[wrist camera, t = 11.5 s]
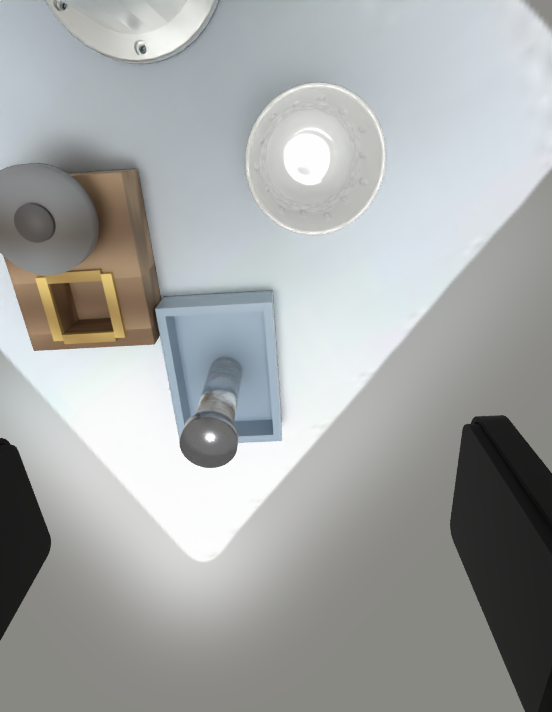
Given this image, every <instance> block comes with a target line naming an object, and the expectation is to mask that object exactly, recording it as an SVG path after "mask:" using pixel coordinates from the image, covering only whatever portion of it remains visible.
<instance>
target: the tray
mask: <svg viewBox="0 0 552 712" xmlns="http://www.w3.org/2000/svg"><path fill="white" fill-rule="evenodd" d="M155 311H156V317H157V322H158V327H159V333H160V338H161V343H162V349H163V354H164V359H165V365H166V370H167V375H168V381H169V386H170V391H171V397H172V402H173V408H174V413H175V418H176V424H177V429H178V434H179V440H180V437H181V434H182V431H183V428H184V425H185V423H186V421H187V420H188V419H189V418H190V417H191V416H193V415H194V414H195V413H196V410H197V407H198V404H199V401H200V398H201V395H202V391H203V388H204V385H205V382H206V379H207V376H208V372H209V369H210V366H211V364H212V363H213V362H214V361H215V360H216V359H218V358H220V357H230V358H233V359H235V360H236V361H237V362H238V363H239V364H240V365H241V367H242V379H241V385H240V391H239V397H238V403H237V409H236V415H235V420H234V423H235V425H236V427H237V429H238V433H239V438H238V443H244V442H266V441H282V418H281V404H280V389H279V375H278V360H277V346H276V331H275V317H274V302H273V291H255V292H238V293H220V294H203V295H185V296H168V297H163V299H162V300H161V302H160V303H159V304H158V306H157V307H156V308H155Z"/></svg>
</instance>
